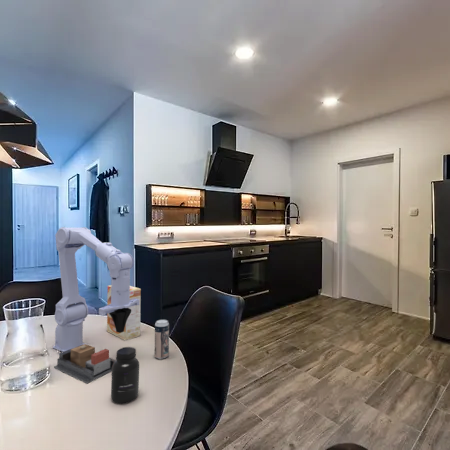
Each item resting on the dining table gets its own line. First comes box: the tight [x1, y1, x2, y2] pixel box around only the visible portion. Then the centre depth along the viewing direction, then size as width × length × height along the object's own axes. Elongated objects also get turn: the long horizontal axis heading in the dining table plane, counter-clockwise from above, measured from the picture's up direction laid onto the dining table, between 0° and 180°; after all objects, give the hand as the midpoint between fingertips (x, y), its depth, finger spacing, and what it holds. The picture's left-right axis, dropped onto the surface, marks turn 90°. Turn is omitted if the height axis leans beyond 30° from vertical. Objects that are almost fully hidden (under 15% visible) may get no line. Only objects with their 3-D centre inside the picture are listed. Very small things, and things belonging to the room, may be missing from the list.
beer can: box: [153, 319, 170, 360], centre depth 96 cm, size 5×5×12 cm
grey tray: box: [53, 345, 116, 384], centre depth 88 cm, size 17×11×4 cm, turn 59°
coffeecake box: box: [106, 284, 142, 341], centre depth 117 cm, size 15×7×20 cm, turn 49°
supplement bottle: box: [110, 346, 140, 405], centre depth 73 cm, size 7×7×12 cm
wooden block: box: [71, 343, 96, 368], centre depth 90 cm, size 5×5×6 cm
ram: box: [86, 348, 111, 375], centre depth 86 cm, size 4×6×6 cm
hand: (120, 331), depth 92 cm, fingers closed
